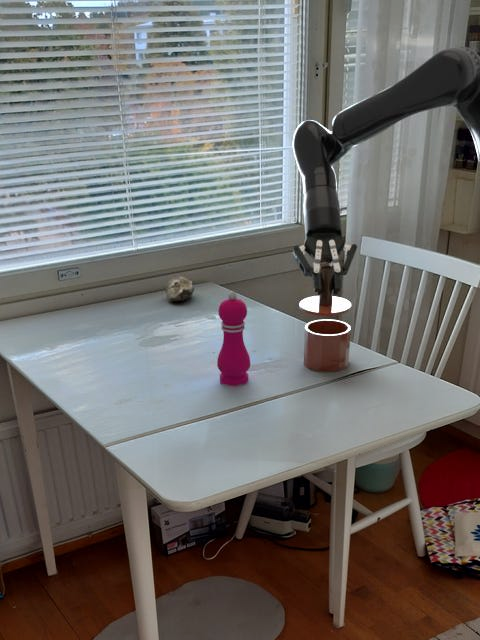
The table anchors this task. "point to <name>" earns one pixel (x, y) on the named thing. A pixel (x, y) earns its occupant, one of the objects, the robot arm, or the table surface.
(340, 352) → the pot
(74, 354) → the table surface
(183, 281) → the fossilized seashell
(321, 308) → the lid
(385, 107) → the robot arm
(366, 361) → the table surface
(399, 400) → the table surface
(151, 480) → the table surface
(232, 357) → the pepper mill
